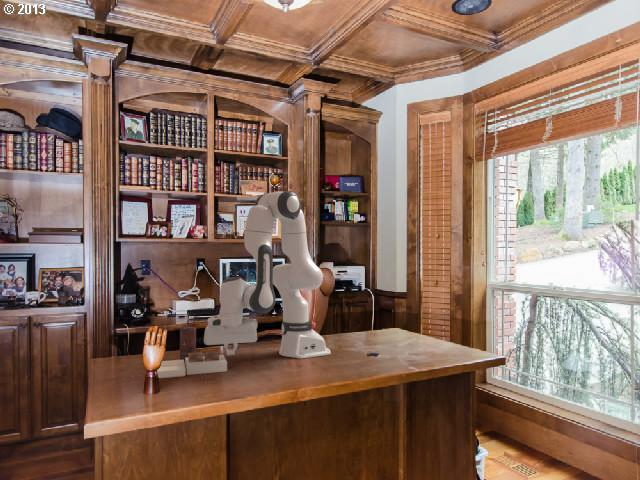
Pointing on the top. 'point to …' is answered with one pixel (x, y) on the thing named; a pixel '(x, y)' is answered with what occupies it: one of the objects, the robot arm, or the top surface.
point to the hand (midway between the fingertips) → (230, 354)
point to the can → (187, 341)
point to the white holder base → (206, 366)
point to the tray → (171, 369)
